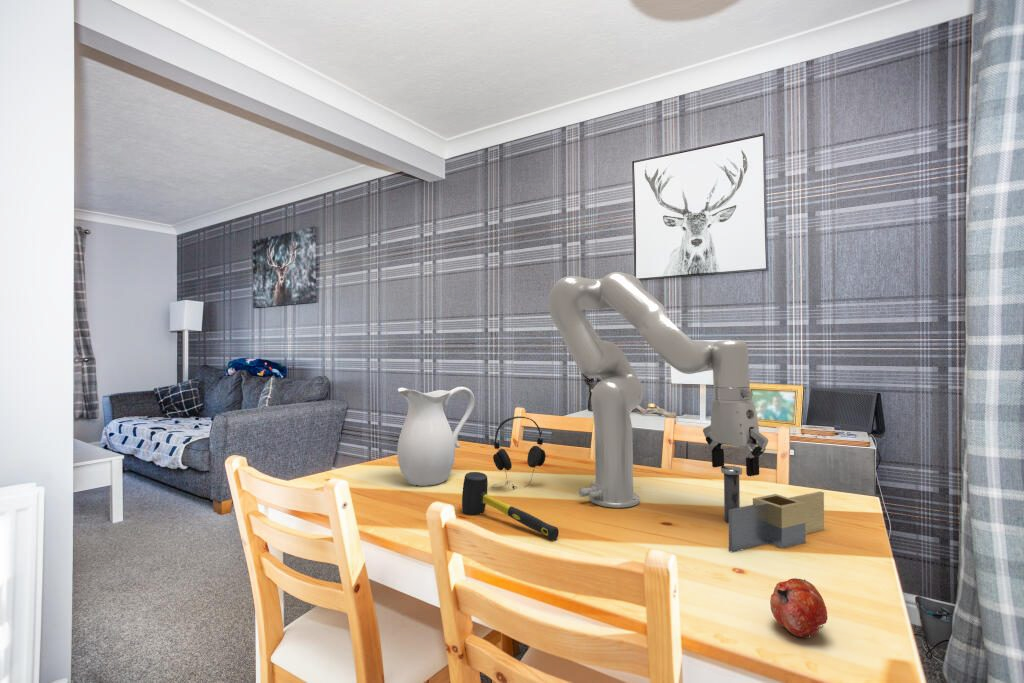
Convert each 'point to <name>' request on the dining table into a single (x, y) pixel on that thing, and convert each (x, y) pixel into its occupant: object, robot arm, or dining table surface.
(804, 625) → the pomegranate
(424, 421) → the pitcher
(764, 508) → the hinge
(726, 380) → the robot arm
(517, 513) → the mallet
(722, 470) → the hinge pin
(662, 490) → the dining table surface
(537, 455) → the headphones
